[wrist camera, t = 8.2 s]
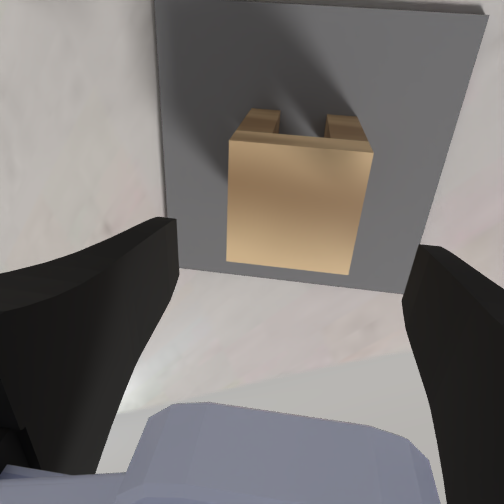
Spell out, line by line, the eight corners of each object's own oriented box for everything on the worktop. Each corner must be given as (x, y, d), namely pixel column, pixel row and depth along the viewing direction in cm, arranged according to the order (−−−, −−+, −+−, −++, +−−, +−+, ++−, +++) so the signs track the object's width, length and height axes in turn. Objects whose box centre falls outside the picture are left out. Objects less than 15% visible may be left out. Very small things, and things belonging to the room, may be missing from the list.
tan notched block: (339, 213, 21) (348, 275, 16) (247, 204, 22) (226, 261, 17) (357, 116, 19) (373, 152, 14) (251, 108, 19) (228, 140, 14)
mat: (485, 14, 16) (489, 14, 16) (402, 290, 24) (404, 294, 23) (156, -4, 18) (153, -5, 17) (172, 263, 25) (170, 267, 24)
